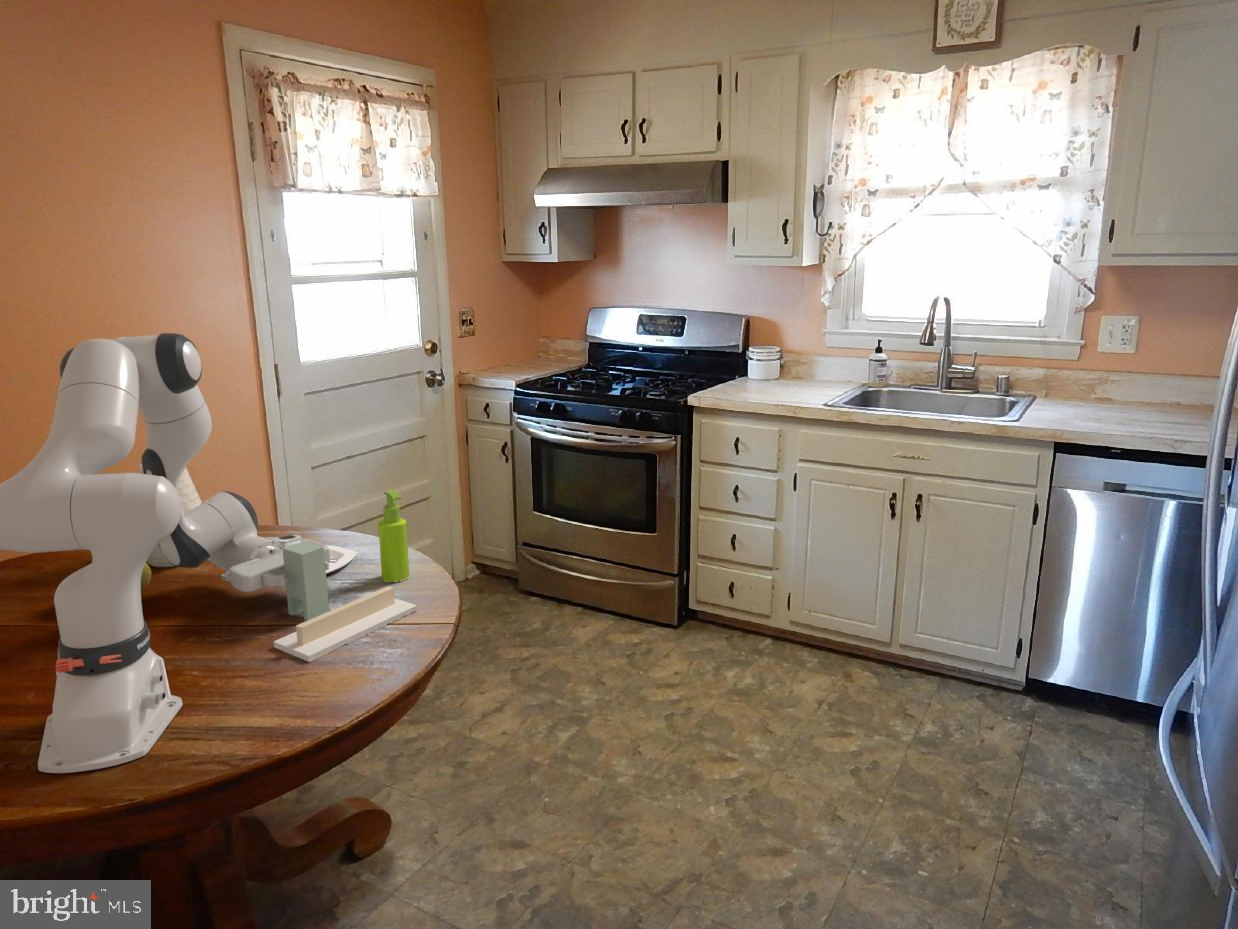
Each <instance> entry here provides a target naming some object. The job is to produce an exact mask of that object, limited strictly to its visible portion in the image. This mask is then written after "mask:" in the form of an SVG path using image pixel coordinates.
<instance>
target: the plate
mask: <svg viewBox="0 0 1238 929" xmlns="http://www.w3.org/2000/svg"><path fill="white" fill-rule="evenodd" d="M325 545H326V546H328V547H329V551H330V558H337V559H338V560H337V562H335V563H329V565H330V566H329V569H328V570H326V575H327V573H328V574H330V573H332V572H334V571H337V570H339V569H341V568H343V567H345V566H346V565H348V564H349V563H351V561H352V560H353V559H354V558H355V557H356V555H358V552H357V551H355V550H352V549H348V548H345V547H341V546H338V545H337V546H336V545H329V544H325ZM330 561H336V560H330Z"/></svg>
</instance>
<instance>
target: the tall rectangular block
mask: <svg viewBox="0 0 1238 929" xmlns="http://www.w3.org/2000/svg"><path fill="white" fill-rule="evenodd" d="M282 549H283V559H284V570H285V576H287V577H288V578H289V580H288V582H289V584H288V585H286V586H285V588H286V598H287V609H288V610H287V611H288V615H290V616H291V617H292V616H296V615H297V614H300V613H302V612H303V620H304V621H305V622H306V621H308V620H310V619H313V618H315V617H317V616H320V615H322V614H324V613H327V612H329V611H330V606H329V595H328V584H327V574H326V569H325V557H324V547H322V546H319V545H315V544H312V543H309V542H305V541H303V542H300V543H297V544H294V545H291V546H288V547H285V548H282Z"/></svg>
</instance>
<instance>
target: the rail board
mask: <svg viewBox="0 0 1238 929" xmlns="http://www.w3.org/2000/svg"><path fill="white" fill-rule="evenodd" d="M416 609H417V610H418V605H417V604H414V603H411V602H408V601H406V600H401V599H398V598H397V597H396V598H395V587H392V586H390V585H389V586H388V585H387V586H385V587H383V588H381V589H378V590H376V591H374V592H371V593H369V594H366V595H365V596H362V597H360V598H357V599H355V600H353V601H350V602H349V603H345V604H343V605H341V606H339V607H337V608H334V609H331V610H329V612H327V613H324V614H322V615H320V616H317V617H315V618H313V619H310V620H308V621H306V620H305V621H303V622H301V623H299V624H297V625H295V630H296V631H294V632H292V633H290V634H288V635H286V636H282V637H281V638H279V639H276V640H274V641H273V647H274V648H275V649H277V650H280V651H282V652H284V653H286V654H289V655H291V656H294V657H296V658H299V659H300V660H304V661H306V662H308V663H311V662H312V661H315V660H317V659H319V658H321V657H323V656H325V655H328V654H329V652H330V653H332V652H334V651H336V650H338V649H339V648H338V647H340V648H342V647H344V646H345V645H344V644H346V643H349V642H351V641H353V640H355V641H357V640H359V639H361V638H363V637H365V636H367V635H366V634H368V633H370V634H371V632H372V633H374V632H376V631H378V630H380V629H381V628H380V627H382V626H384V627H386V626H385V625H387V624H388V623H391V624H393V623H394V622H393V621H395V620H397V619H399V618H401V617H402V616H405V615H407V614H408V613H411V612H413V611H415V610H416ZM405 617H406V616H405ZM401 619H402V618H401ZM399 620H400V619H399ZM397 621H398V620H397ZM392 622H393V623H392ZM395 622H396V621H395ZM387 626H388V625H387ZM379 628H380V629H379ZM382 628H383V627H382ZM375 630H376V631H375ZM373 631H374V632H373ZM368 635H369V634H368ZM360 637H361V638H360ZM358 638H359V639H358ZM356 639H357V640H356ZM353 642H354V641H353ZM351 643H352V642H351ZM349 644H350V643H349ZM343 645H344V646H343ZM341 646H342V647H341ZM337 648H338V649H337ZM335 649H336V650H335ZM333 650H334V651H333ZM331 651H332V652H331Z"/></svg>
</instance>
